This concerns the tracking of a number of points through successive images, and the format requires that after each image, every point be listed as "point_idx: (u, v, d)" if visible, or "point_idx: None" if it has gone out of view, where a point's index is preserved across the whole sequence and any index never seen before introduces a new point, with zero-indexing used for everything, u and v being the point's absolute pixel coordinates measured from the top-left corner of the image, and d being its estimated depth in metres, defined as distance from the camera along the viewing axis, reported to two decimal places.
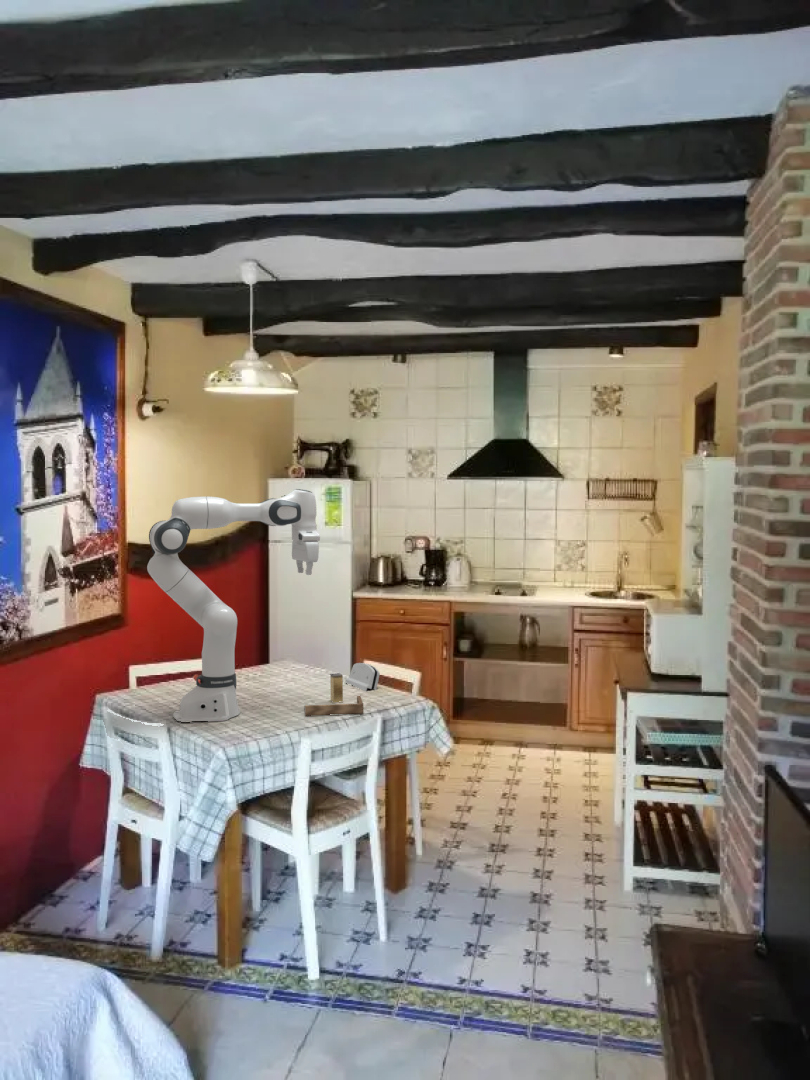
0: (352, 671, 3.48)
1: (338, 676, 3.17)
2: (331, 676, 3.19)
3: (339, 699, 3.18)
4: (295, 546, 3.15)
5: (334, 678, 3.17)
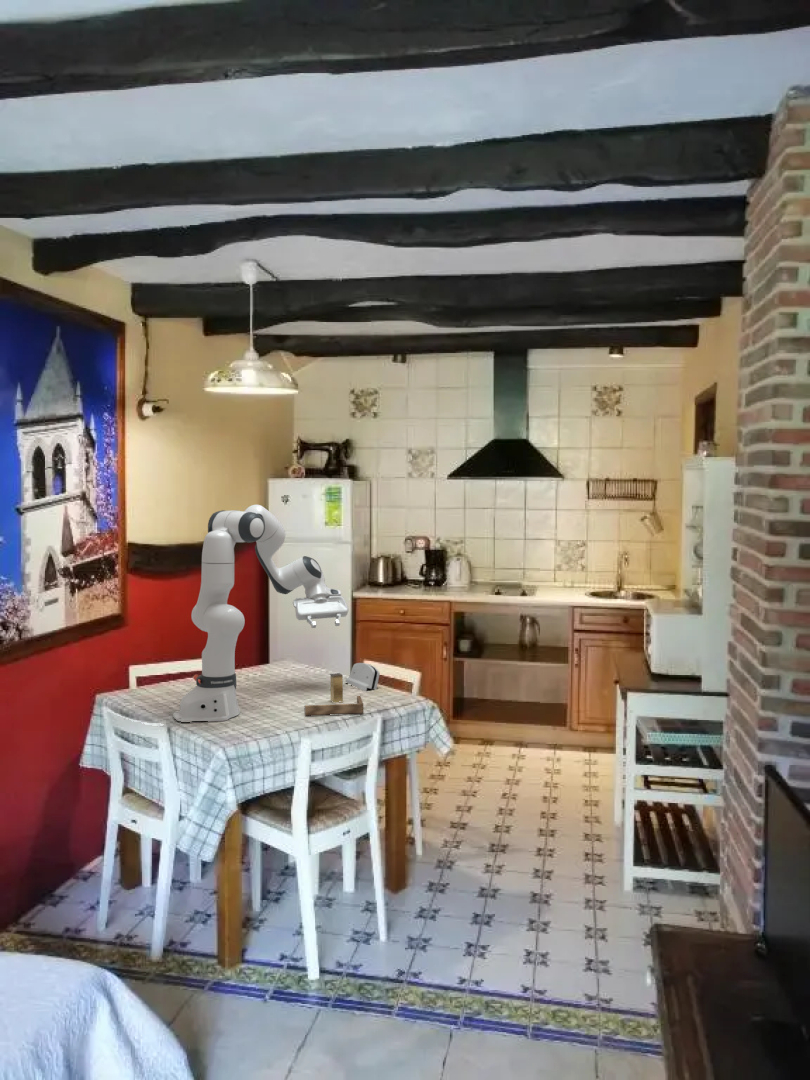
0: (352, 671, 3.48)
1: (338, 676, 3.17)
2: (331, 676, 3.19)
3: (339, 699, 3.18)
4: (306, 604, 3.31)
5: (334, 678, 3.17)
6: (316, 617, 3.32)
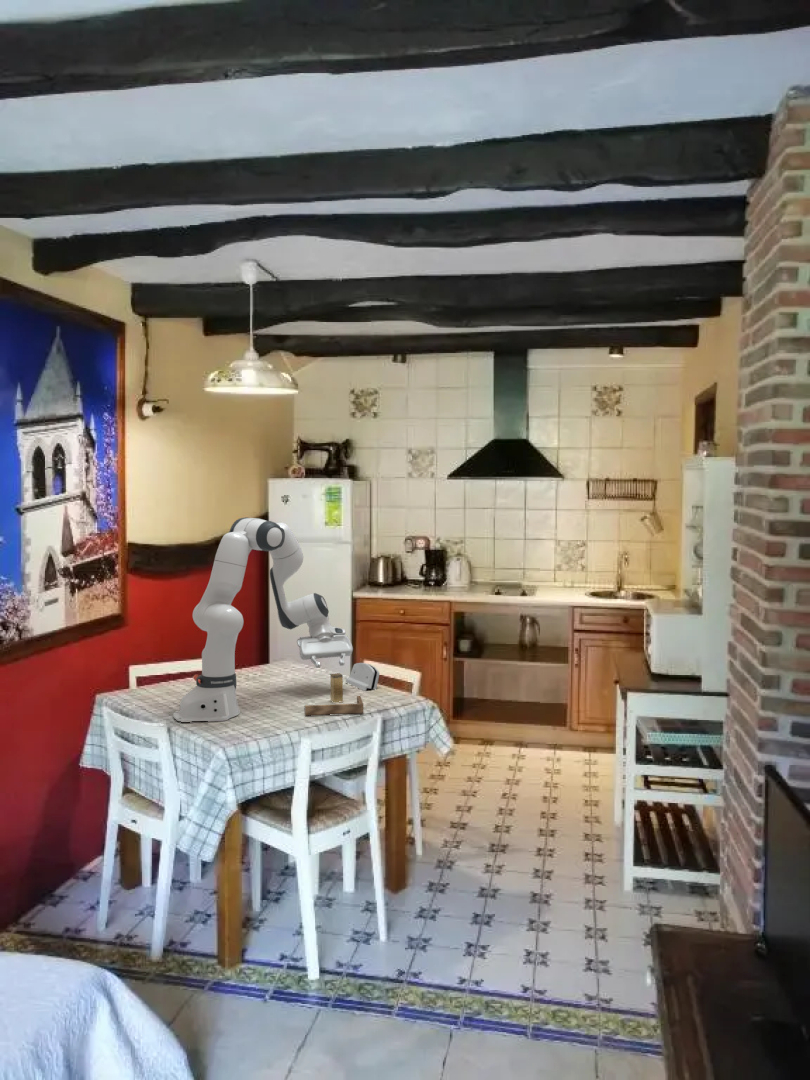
0: (352, 671, 3.48)
1: (338, 676, 3.17)
2: (331, 676, 3.19)
3: (339, 699, 3.18)
4: (310, 643, 3.27)
5: (334, 678, 3.17)
6: (320, 656, 3.28)
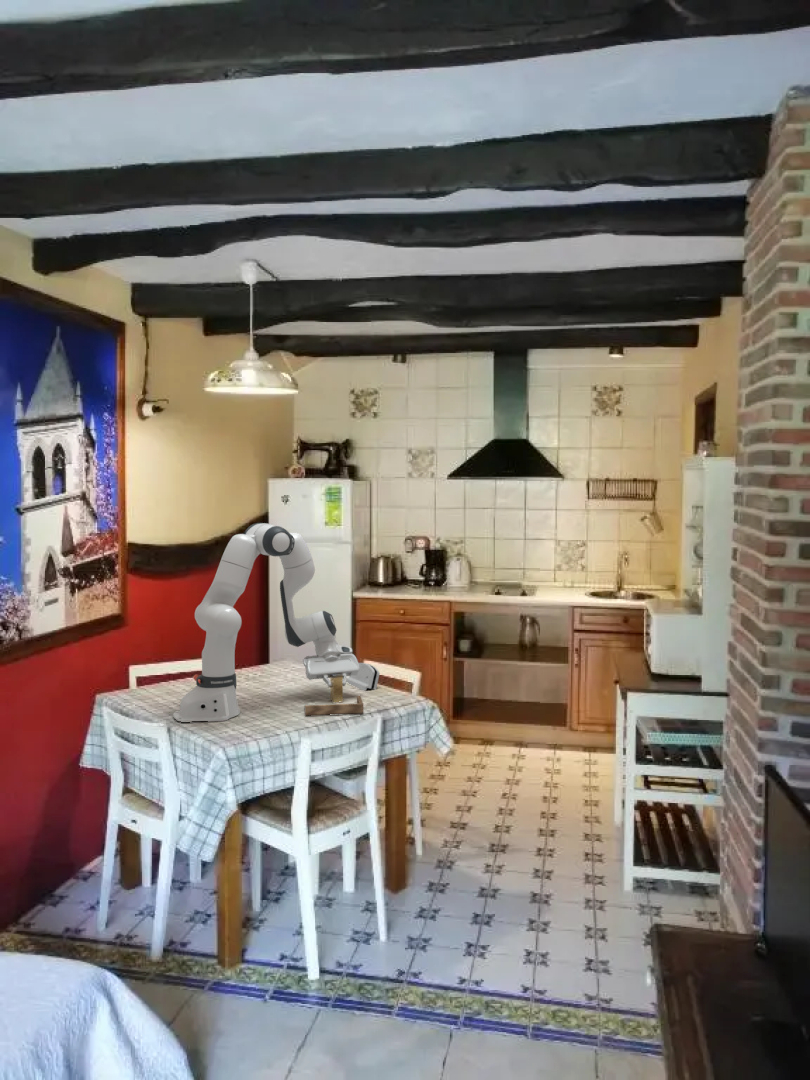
0: None
1: (338, 676, 3.17)
2: (331, 676, 3.19)
3: (339, 699, 3.18)
4: (317, 663, 3.21)
5: (334, 678, 3.17)
6: None
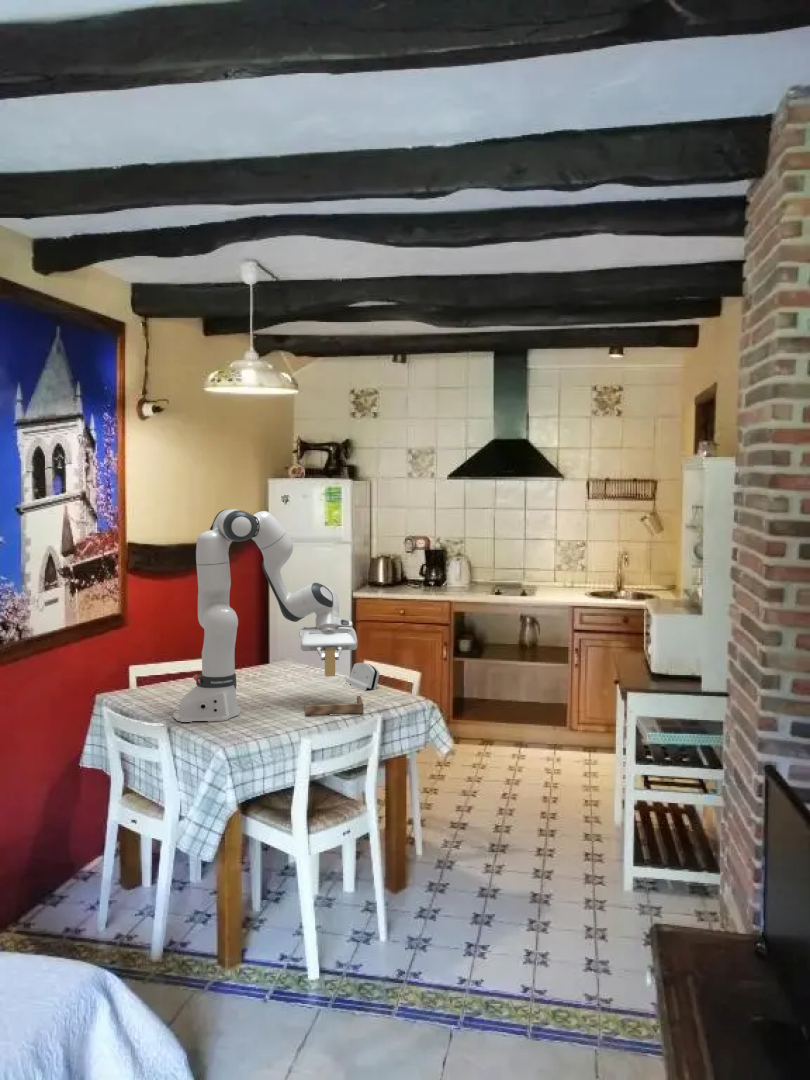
0: (353, 671, 3.49)
1: (330, 649, 3.05)
2: None
3: (331, 673, 3.06)
4: (312, 634, 3.11)
5: (326, 651, 3.05)
6: (322, 649, 3.10)
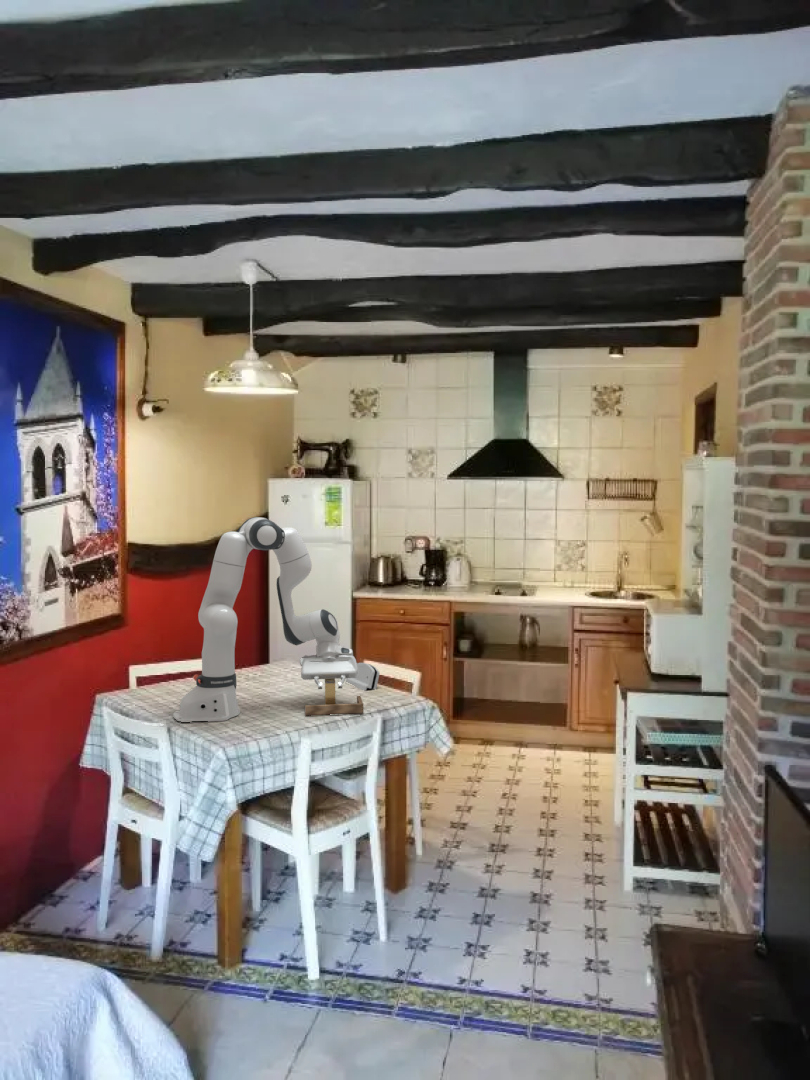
0: None
1: (330, 682, 3.05)
2: None
3: None
4: (313, 663, 3.11)
5: (326, 683, 3.05)
6: (322, 677, 3.10)
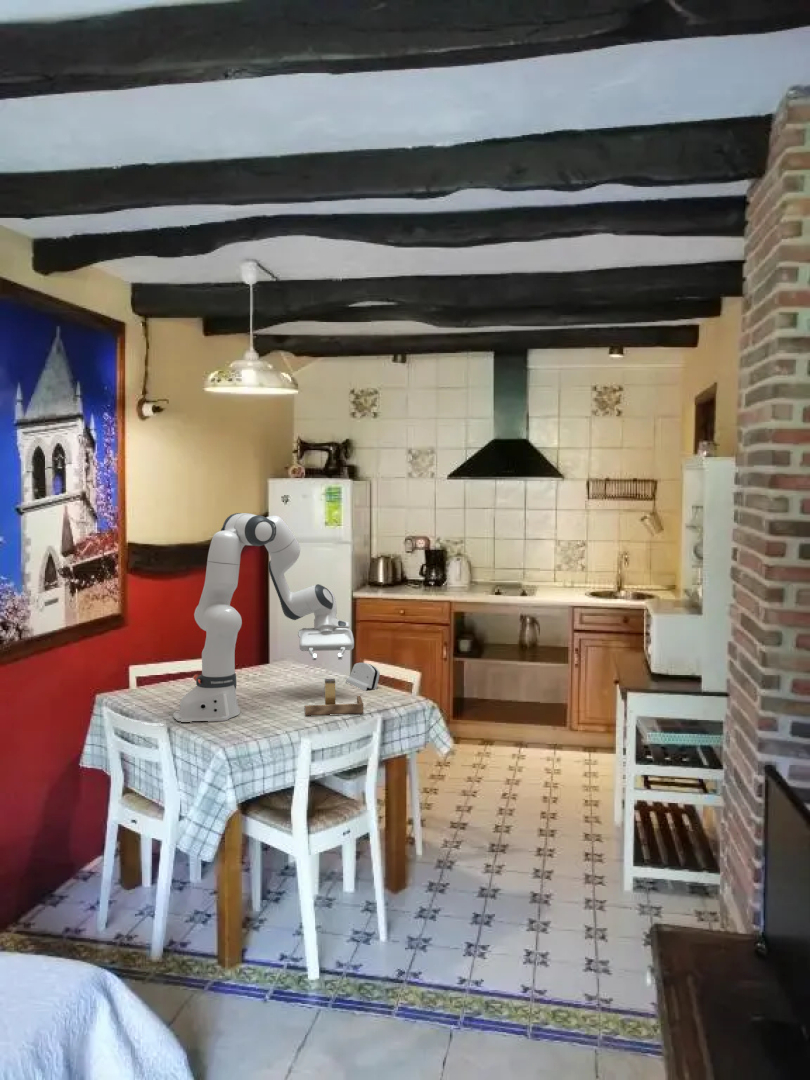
0: (353, 671, 3.49)
1: (330, 682, 3.05)
2: None
3: None
4: (311, 635, 3.23)
5: (326, 683, 3.05)
6: (320, 649, 3.23)
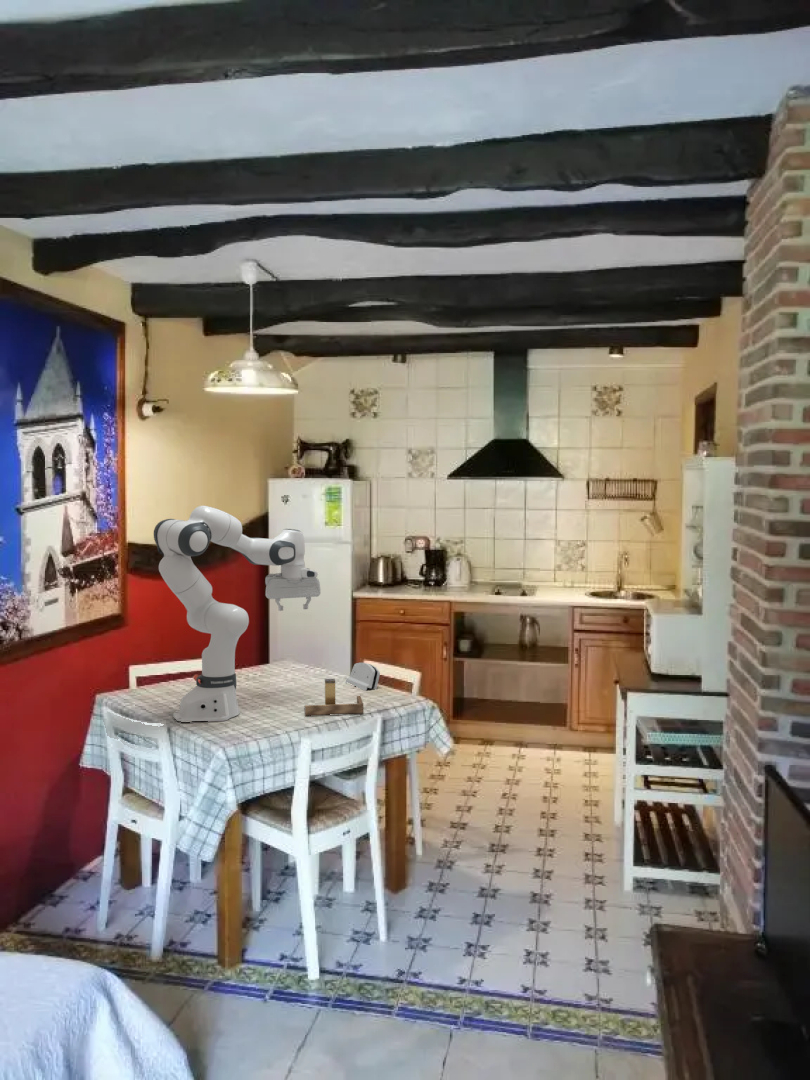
0: (353, 671, 3.49)
1: (330, 682, 3.05)
2: None
3: None
4: (278, 585, 3.18)
5: (326, 683, 3.05)
6: None
